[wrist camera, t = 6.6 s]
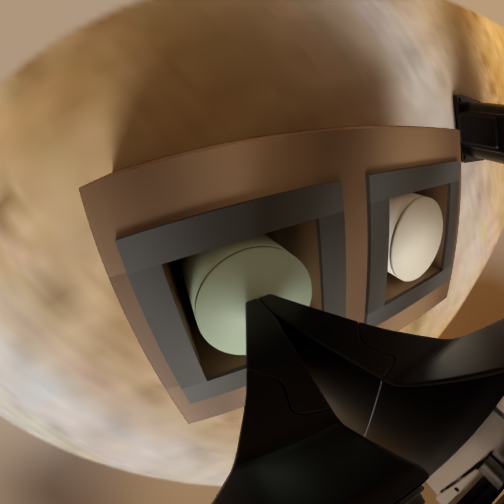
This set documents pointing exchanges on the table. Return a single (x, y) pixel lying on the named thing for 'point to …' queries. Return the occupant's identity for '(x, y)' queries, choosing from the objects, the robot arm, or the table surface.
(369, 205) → the walnut block
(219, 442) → the table surface
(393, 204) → the cream peg
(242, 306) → the sage peg
